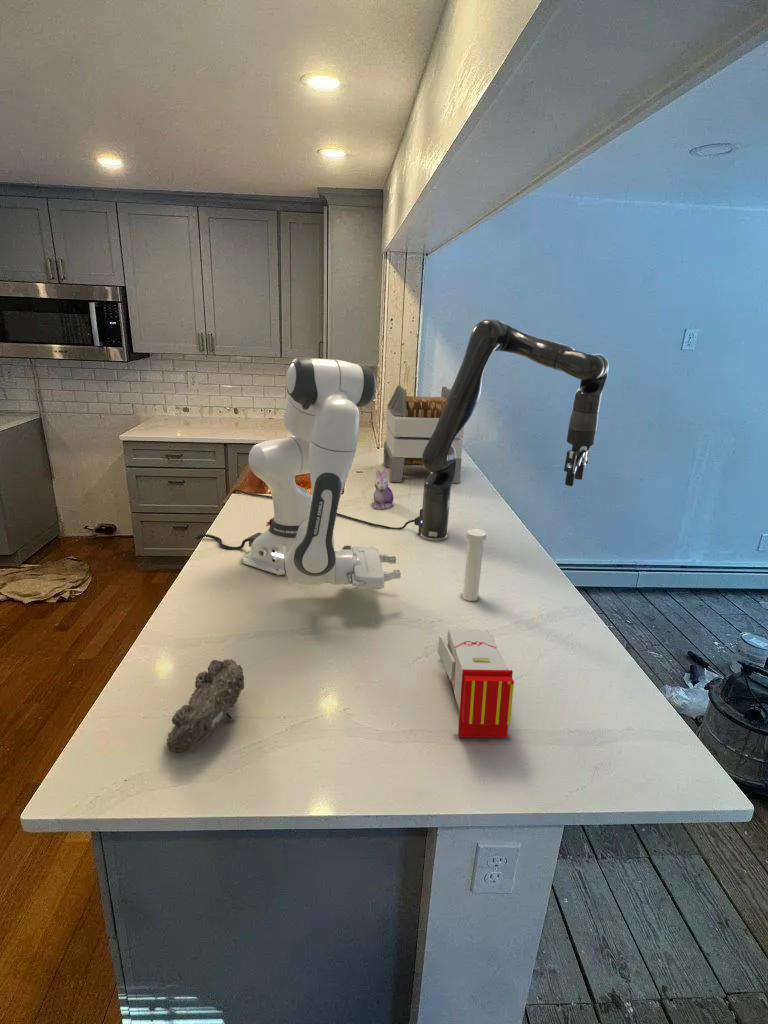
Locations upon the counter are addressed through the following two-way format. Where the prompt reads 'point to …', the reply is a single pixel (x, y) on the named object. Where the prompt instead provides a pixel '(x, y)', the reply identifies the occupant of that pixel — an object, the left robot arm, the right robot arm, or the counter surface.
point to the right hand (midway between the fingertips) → (573, 482)
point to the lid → (476, 535)
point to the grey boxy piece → (414, 431)
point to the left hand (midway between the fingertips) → (397, 566)
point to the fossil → (206, 705)
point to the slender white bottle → (472, 570)
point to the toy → (478, 682)
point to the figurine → (382, 491)
